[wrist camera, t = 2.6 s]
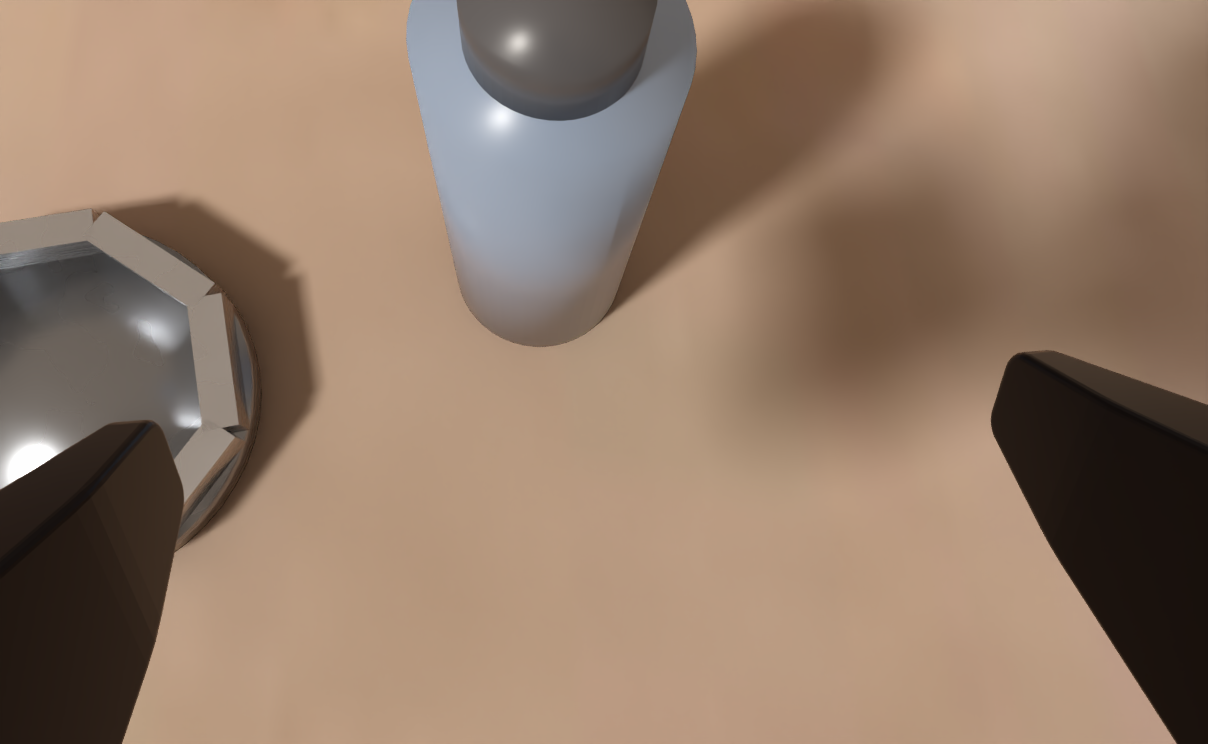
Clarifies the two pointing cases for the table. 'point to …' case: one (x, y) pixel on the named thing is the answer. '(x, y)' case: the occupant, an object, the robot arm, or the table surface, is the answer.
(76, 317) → the bowl
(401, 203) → the table surface
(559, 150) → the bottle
